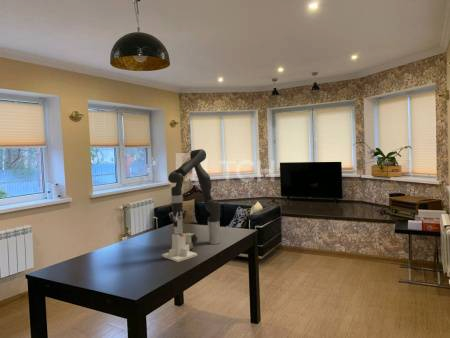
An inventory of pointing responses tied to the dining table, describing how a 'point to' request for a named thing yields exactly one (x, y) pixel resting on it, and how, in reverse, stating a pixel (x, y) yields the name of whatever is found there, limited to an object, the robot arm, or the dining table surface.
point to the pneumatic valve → (190, 239)
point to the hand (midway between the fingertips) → (178, 226)
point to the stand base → (179, 249)
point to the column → (178, 227)
